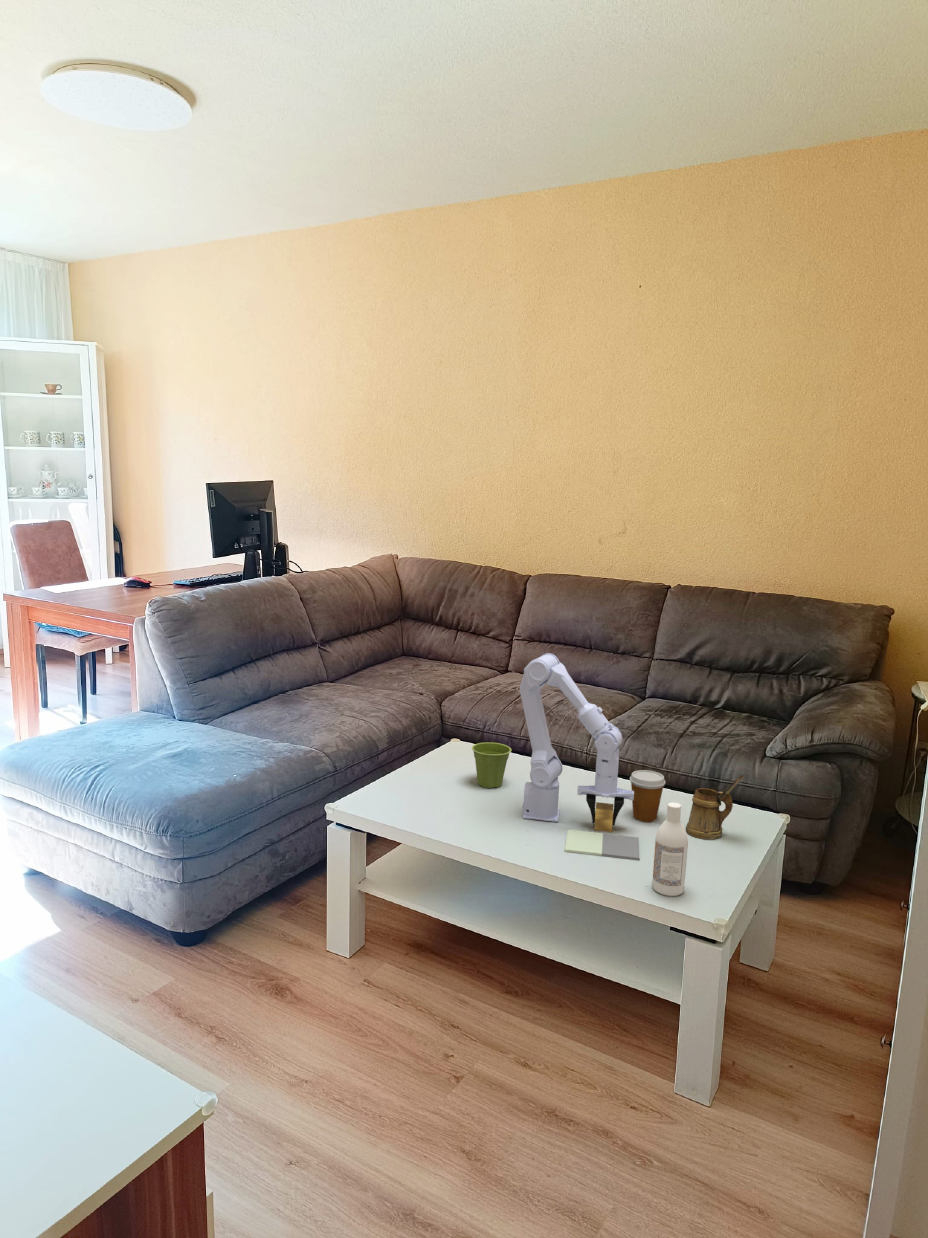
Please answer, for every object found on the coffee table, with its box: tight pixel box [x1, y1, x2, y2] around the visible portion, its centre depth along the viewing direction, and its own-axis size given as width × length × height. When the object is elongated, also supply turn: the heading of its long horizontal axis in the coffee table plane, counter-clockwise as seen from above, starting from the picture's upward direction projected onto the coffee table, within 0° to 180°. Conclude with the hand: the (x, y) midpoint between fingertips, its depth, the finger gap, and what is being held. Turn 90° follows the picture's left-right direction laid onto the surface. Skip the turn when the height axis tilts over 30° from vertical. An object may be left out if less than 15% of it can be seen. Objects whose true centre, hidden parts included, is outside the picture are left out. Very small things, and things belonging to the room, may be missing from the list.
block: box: [593, 801, 614, 833], centre depth 211 cm, size 4×4×6 cm
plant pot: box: [471, 741, 512, 789], centre depth 239 cm, size 12×12×11 cm
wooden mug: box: [685, 774, 745, 841], centre depth 208 cm, size 9×14×18 cm, turn 55°
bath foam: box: [651, 802, 689, 897], centre depth 178 cm, size 7×7×20 cm
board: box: [564, 829, 640, 861], centre depth 201 cm, size 18×12×1 cm, turn 79°
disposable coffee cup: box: [629, 769, 666, 823], centre depth 218 cm, size 10×10×12 cm
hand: (603, 822), depth 211 cm, fingers closed on block, 4 cm apart
